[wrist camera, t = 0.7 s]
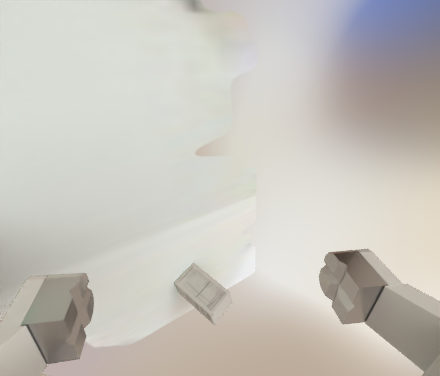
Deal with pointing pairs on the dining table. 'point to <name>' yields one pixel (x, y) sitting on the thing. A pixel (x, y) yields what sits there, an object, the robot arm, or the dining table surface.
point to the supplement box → (204, 293)
